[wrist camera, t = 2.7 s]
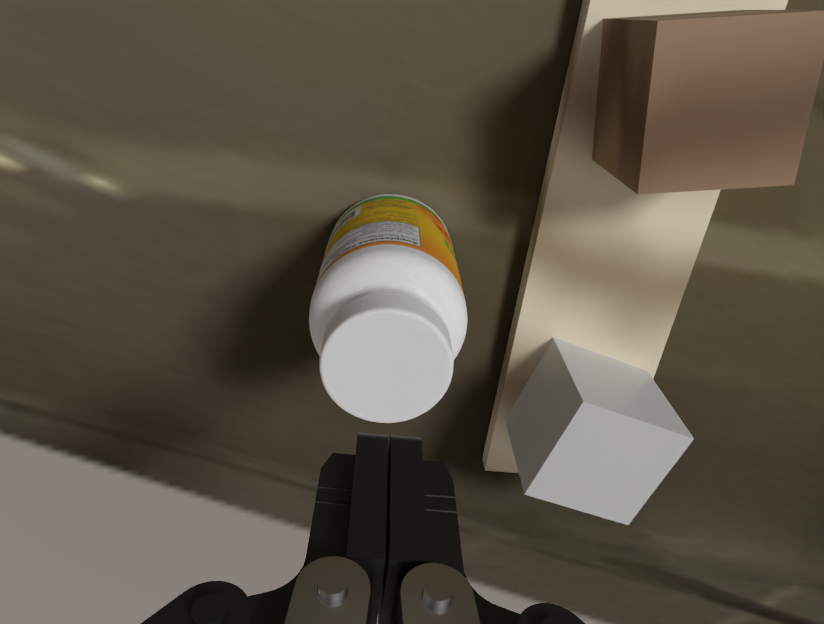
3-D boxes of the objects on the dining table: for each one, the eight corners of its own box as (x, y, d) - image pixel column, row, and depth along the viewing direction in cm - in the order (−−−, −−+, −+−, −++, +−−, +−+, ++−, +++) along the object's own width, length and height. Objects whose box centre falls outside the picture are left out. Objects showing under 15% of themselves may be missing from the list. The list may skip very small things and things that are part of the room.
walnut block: (603, 18, 21) (658, 20, 17) (743, 9, 21) (835, 9, 17) (591, 159, 24) (637, 194, 19) (719, 151, 24) (794, 184, 19)
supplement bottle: (452, 303, 27) (477, 439, 19) (334, 308, 27) (305, 447, 19) (451, 188, 25) (479, 282, 16) (322, 193, 25) (283, 290, 16)
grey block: (552, 337, 27) (583, 401, 23) (646, 370, 28) (693, 438, 24) (505, 420, 29) (524, 494, 25) (594, 449, 30) (628, 525, 26)
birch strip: (600, -79, 21) (609, -83, 20) (790, -51, 21) (807, -54, 20) (482, 457, 32) (484, 470, 31) (610, 467, 32) (616, 480, 31)
